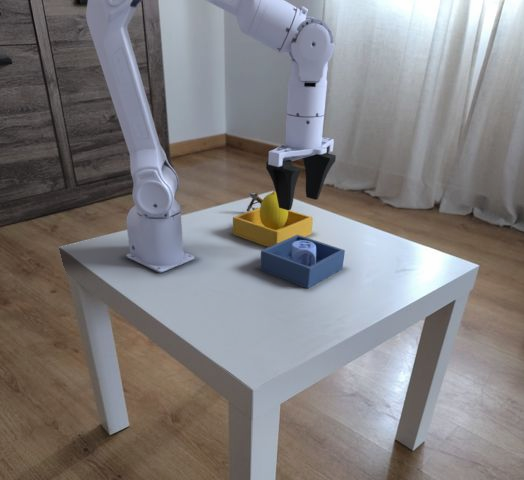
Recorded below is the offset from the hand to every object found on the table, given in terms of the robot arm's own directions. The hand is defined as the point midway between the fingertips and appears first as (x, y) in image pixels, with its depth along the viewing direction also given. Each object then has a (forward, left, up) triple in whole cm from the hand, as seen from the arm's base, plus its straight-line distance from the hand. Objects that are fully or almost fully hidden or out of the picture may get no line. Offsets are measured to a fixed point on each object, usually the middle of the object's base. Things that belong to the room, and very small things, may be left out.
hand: (298, 203), depth 82 cm
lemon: (-11, +7, -10) cm, 16 cm away
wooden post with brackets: (-19, +14, -11) cm, 26 cm away
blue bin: (+3, -2, -10) cm, 11 cm away
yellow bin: (-11, +7, -10) cm, 17 cm away
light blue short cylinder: (+3, -2, -10) cm, 11 cm away
